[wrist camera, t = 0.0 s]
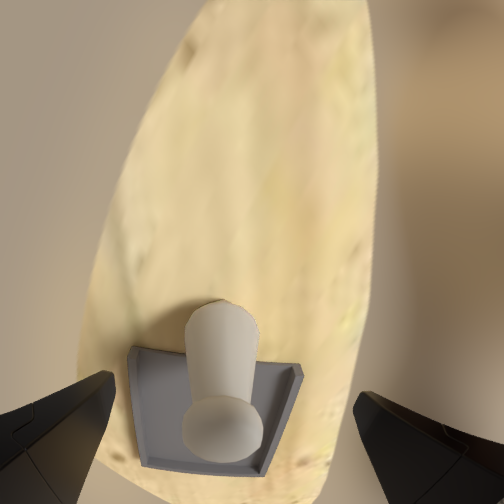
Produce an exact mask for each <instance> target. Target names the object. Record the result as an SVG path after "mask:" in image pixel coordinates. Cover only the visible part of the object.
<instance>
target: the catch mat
mask: <svg viewBox="0 0 504 504" xmlns="http://www.w3.org/2000/svg"><path fill="white" fill-rule="evenodd" d="M127 362H128V374H129V385H130V394H131V403H132V411H133V418H134V425H135V432H136V438H137V444H138V450H139V455H140V461H141V466H142V467H148V468H154V469H160V470H166V471H174V472H181V473H190V474H200V475H213V476H231V477H265V474H266V472H267V470H268V468H269V465H270V463H271V461H272V458H273V456H274V454H275V451H276V449H277V446H278V444H279V441H280V439H281V436H282V434H283V431H284V429H285V426H286V424H287V421H288V419H289V416H290V413H291V411H292V408H293V405H294V403H295V400H296V397H297V395H298V392H299V389H300V386H301V383H302V381H303V378H304V374H303V371H302V368H301V365H300V364H292V363H272V362H257V361H256V365H255V372H254V380H253V388H252V395H251V403H250V404H251V405H253V406H254V407H255V409H256V411H257V412H258V414H259V416H260V418H261V421H262V425H263V438H262V442H261V446H260V448H258V449H257V450H256V451H255V452H253V453H252V454H251V455H250V456H248V457H247V458H245V459H242V460H239V461H236V462H228V463H218V462H211V461H206V460H204V459H202V458H200V457H198V456H196V455H195V454H193V453H192V452H191V451H190V450H189V449H188V448H187V447H186V445H185V444H184V442H183V435H182V422H183V417H184V414H185V413H186V411H187V410H188V409H189V408H190V406H191V405H192V404H193V402H192V396H191V389H190V382H189V374H188V366H187V358H186V354H180V353H173V352H166V351H159V350H153V349H147V348H141V347H135V346H132V347H131V349H130V352H129V354H128V357H127Z"/></svg>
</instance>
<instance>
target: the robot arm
mask: <svg viewBox="0 0 504 504" xmlns="http://www.w3.org/2000/svg"><path fill="white" fill-rule="evenodd" d="M115 394H116V386H115V379H114V374H113V373H112V372H109V371H105V370H102V371H100V372H98V373H96V374H94V375H91V376H89V377H87V378H85V379H83V380H81V381H79V382H77V383H75V384H72V385H70V386H68V387H66V388H64V389H62V390H60V391H57V392H55V393H53V394H51V395H49V396H46V397H44V398H42V399H40V400H38V401H35V402H33V403H30V404H28V405H26V406H23V407H21V408H18V409H16V410H13V411H10V412H7V413H4V414H2V415H0V504H76V503H77V501H78V498H79V495H80V492H81V490H82V487H83V484H84V482H85V479H86V477H87V474H88V471H89V469H90V466H91V464H92V461H93V459H94V456H95V454H96V452H97V449H98V447H99V444H100V442H101V439H102V437H103V435H104V432H105V430H106V427H107V424H108V421H109V417H110V413H111V409H112V406H113V402H114V399H115ZM353 414H354V417H355V420H356V424H357V427H358V431H359V434H360V437H361V440H362V442H363V445H364V447H365V449H366V452H367V454H368V456H369V459H370V461H371V463H372V465H373V468H374V470H375V472H376V475H377V477H378V479H379V482H380V484H381V486H382V489H383V491H384V493H385V495H386V498H387V500H388V503H389V504H504V444H500V443H496V442H493V441H490V440H487V439H483V438H480V437H477V436H474V435H470V434H468V433H465V432H462V431H459V430H457V429H454V428H451V427H449V426H447V425H445V424H441V423H439V422H437V421H434V420H432V419H430V418H427V417H425V416H423V415H421V414H419V413H416V412H414V411H412V410H410V409H408V408H405V407H403V406H401V405H399V404H397V403H395V402H392V401H390V400H388V399H386V398H384V397H382V396H380V395H378V394H376V393H374V392H372V391H362V392H361V393H360V394H359V396H358V398H357V400H356V402H355V404H354V406H353Z"/></svg>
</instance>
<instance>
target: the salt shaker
mask: <svg viewBox="0 0 504 504" xmlns="http://www.w3.org/2000/svg"><path fill="white" fill-rule="evenodd" d="M259 334H260V332H259V329H258V327H257V324H256V321H255V319H254V317H253V316H252V315H251V314H250V313H249V312H247V311H246V310H245V309H244V308H242V307H241V306H238V305H235V304H232V303H230V302H228V301H226V300H225V299H222V300H219V301H216V302H213V303H208V304H206V305H204V306H202V307H200V308H199V309H197V310H195V311H194V312H193V314H192V315H191V317H190V319H189V320H188V322H187V324H186V326H185V338H184V341H185V350H186V358H187V366H188V374H189V382H190V389H191V396H192V402H193V404H192V405H191V406H190V408H189V409H188V410H187V411H186V413H185V414H184V417H183V422H182V435H183V442H184V444H185V445H186V447H187V448H188V449H189V450H190V451H191V452H192V453H193V454H195V455H196V456H198V457H200V458H202V459H204V460H206V461H211V462H218V463H228V462H236V461H239V460H242V459H245V458H247V457H248V456H250V455H251V454H252V453H253V452H255V451H256V450H257V449H258V448H260V446H261V442H262V438H263V425H262V421H261V418H260V416H259V414H258V412H257V411H256V409H255V407H254V406H253V405H251V404H250V403H251V395H252V388H253V380H254V372H255V365H256V357H257V349H258V341H259Z"/></svg>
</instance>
